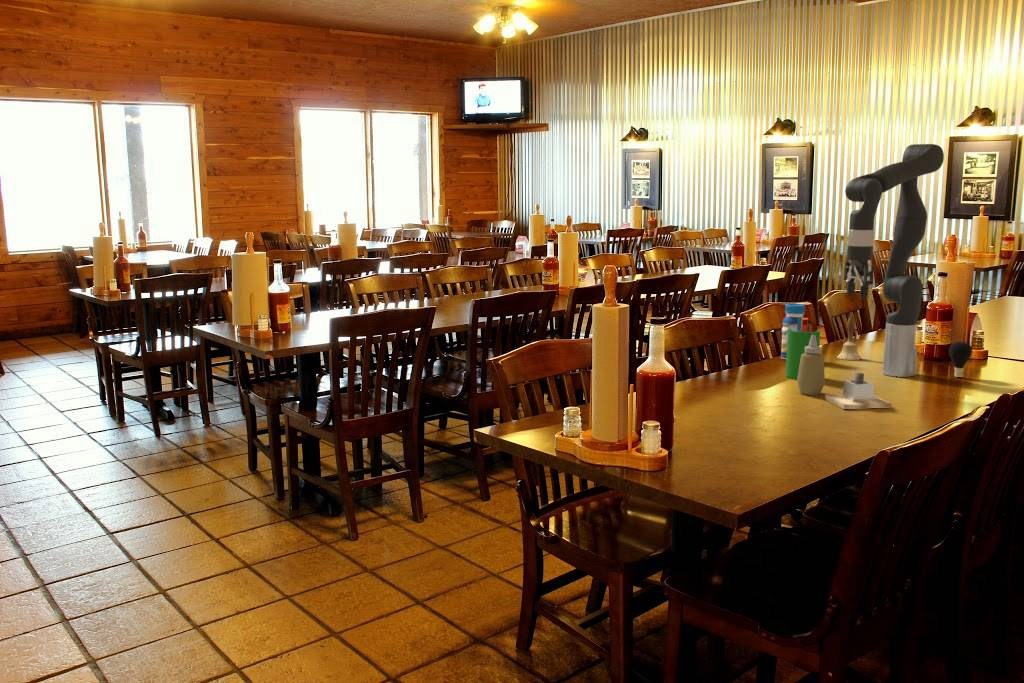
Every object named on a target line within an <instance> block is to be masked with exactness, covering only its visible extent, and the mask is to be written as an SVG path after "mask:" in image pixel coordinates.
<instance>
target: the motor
mask: <svg viewBox="0 0 1024 683" xmlns="http://www.w3.org/2000/svg"><path fill="white" fill-rule="evenodd" d="M808 326H809V317H804V318H802V327H801V332H798V331H792V330H791V329H788V336H787V357H786V360H785V361H786V362H785V365H786V366H785V377H786V378H788V377H789V378H788V379H792V378H793V379H794V380H797V378H798V372H799V366H800V359H801V355H802V354H803V353H805V346H809V342H810V339H811V335H816V341H817V346H818V347H821V346H820V344H821V329H817V330H815V331H808Z"/></svg>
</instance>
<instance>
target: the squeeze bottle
mask: <svg viewBox="0 0 1024 683" xmlns="http://www.w3.org/2000/svg"><path fill="white" fill-rule="evenodd" d="M821 351H822V348H821V346H820V347H818V346H817V341H816V335H811V339H810V342H809V346H805V353H803V354H802V355H801V359H800V366H799V372H798V378H797V379H796V380H797V381H796V382H797V385H798V386H797V387H798V388H799V393H801V394H802V395H806V396H817V395H821V393H822V392H823V389H824V387H825V384H826V378H825V377H826V375H825V357H824V355H823V354H822V352H821Z"/></svg>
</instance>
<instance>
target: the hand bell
mask: <svg viewBox="0 0 1024 683" xmlns="http://www.w3.org/2000/svg"><path fill="white" fill-rule="evenodd" d="M855 329H856V319H855V315H854V314H850V315H849V317H848V320H847V330H848V336H847V341H846V342H844V343H843V345H842V349H841V352H840V354H838V355H837V357H836V358H837V359H838V358H839V360H842V359H844V360H843V361H859V360H860V359H861V360H862V357H861V356H860V354H859V352H858V348H857V343H855V342H854V341H853V340H854V331H855Z"/></svg>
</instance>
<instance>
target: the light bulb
mask: <svg viewBox="0 0 1024 683" xmlns="http://www.w3.org/2000/svg"><path fill="white" fill-rule="evenodd" d="M948 353H949V356H950V359H951V361H952V363H953V365H954V373H953V374H954V377H955V378H957V377H962V378H963V377H964V367H965V365H966V364H967V362H968V361H969V360H970V358H971V357H972V354H973V349H972V345H970V343H968V342H966V341H960V340H958V341H955V342H952V344H951V345H950V347H949V349H948Z"/></svg>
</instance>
